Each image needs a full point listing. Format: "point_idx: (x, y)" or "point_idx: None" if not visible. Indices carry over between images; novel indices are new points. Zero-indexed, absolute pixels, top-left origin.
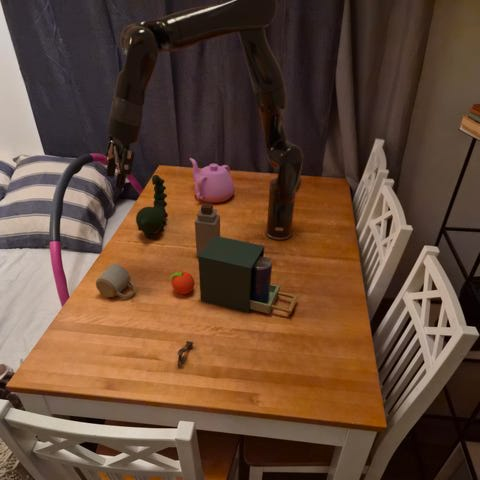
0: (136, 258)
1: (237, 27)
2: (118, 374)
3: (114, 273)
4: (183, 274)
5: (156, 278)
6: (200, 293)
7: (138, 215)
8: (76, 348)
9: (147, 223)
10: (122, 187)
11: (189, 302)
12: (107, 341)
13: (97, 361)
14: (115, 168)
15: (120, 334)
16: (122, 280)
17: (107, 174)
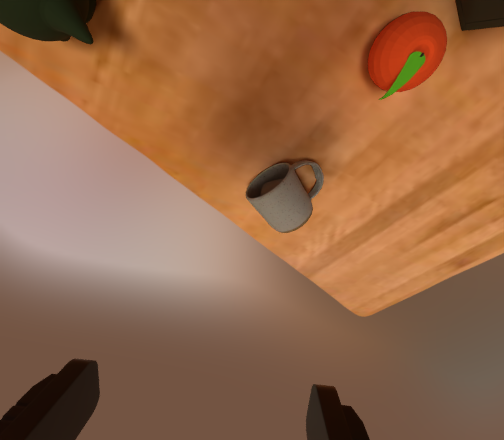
0: (185, 98)
1: None
2: (455, 250)
3: (291, 207)
4: (419, 49)
5: (293, 93)
6: (480, 28)
7: (18, 25)
8: (365, 269)
9: (77, 12)
10: (334, 397)
11: None
12: (387, 240)
13: (409, 260)
14: (35, 430)
15: (390, 221)
16: (302, 190)
17: (91, 408)
